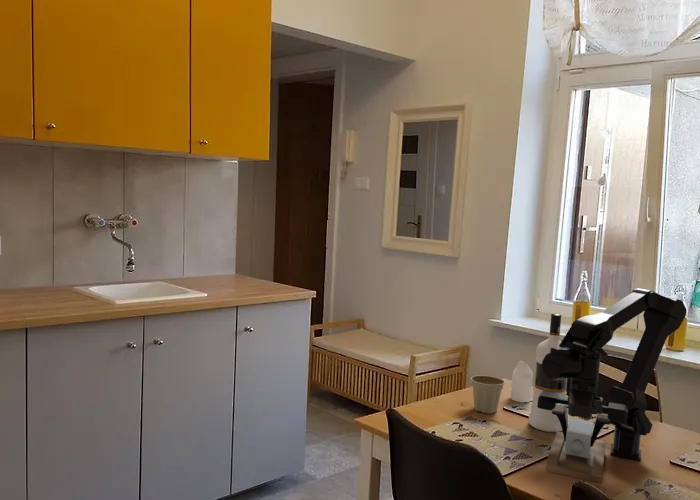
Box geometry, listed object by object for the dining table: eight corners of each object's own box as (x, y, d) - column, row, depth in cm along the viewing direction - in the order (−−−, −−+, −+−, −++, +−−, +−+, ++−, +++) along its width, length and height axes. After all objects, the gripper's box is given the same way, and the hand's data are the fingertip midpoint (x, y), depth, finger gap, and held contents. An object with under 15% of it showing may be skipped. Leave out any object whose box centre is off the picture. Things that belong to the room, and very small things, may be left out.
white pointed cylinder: (537, 360, 182) (529, 364, 178) (533, 400, 183) (525, 404, 179) (518, 356, 186) (510, 359, 182) (514, 395, 187) (506, 399, 183)
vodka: (543, 418, 167) (553, 309, 165) (572, 430, 160) (583, 316, 157) (520, 423, 162) (530, 311, 160) (549, 435, 154) (559, 318, 152)
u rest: (555, 443, 149) (556, 431, 149) (604, 453, 145) (605, 441, 145) (546, 470, 133) (547, 457, 133) (601, 483, 128) (602, 469, 128)
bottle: (568, 438, 145) (570, 418, 144) (591, 443, 143) (593, 422, 142) (563, 458, 133) (565, 435, 133) (587, 463, 131) (589, 440, 131)
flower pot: (461, 406, 174) (463, 376, 173) (488, 403, 178) (490, 374, 177) (481, 417, 165) (484, 385, 165) (509, 414, 169) (512, 383, 169)
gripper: (536, 377, 134) (530, 446, 135) (630, 392, 126) (623, 466, 127) (543, 366, 144) (537, 431, 145) (630, 380, 136) (623, 448, 138)
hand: (578, 443), depth 139 cm, fingers closed on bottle, 5 cm apart
